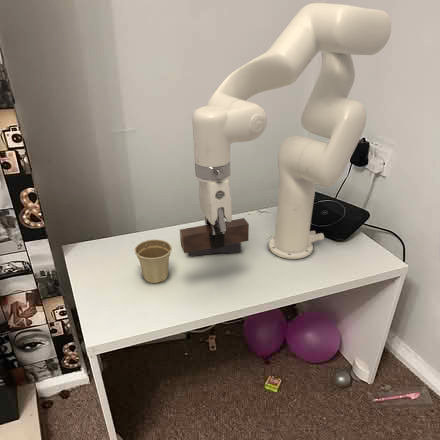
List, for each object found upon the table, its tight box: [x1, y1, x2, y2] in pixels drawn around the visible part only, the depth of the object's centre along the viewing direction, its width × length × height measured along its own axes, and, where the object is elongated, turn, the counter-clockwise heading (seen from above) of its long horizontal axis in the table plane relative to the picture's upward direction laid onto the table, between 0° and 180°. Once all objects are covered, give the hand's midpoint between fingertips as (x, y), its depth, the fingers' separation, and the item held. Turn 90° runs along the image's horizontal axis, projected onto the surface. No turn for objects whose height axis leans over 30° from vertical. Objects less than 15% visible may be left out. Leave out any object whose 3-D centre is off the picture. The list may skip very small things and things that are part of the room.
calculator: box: [187, 226, 242, 257], centre depth 127 cm, size 11×4×15 cm
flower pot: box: [133, 239, 173, 284], centre depth 113 cm, size 9×9×9 cm
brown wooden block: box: [179, 217, 250, 254], centre depth 103 cm, size 16×3×5 cm, turn 108°
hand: (215, 242), depth 104 cm, fingers closed on brown wooden block, 3 cm apart
